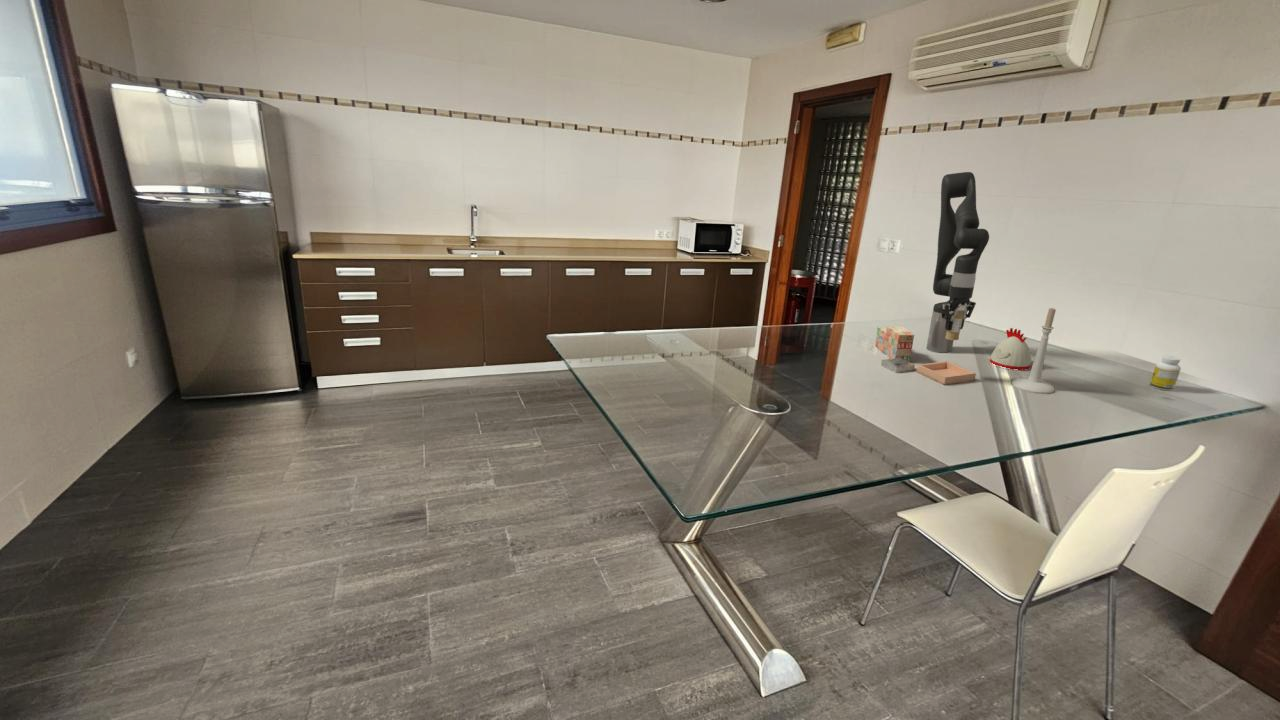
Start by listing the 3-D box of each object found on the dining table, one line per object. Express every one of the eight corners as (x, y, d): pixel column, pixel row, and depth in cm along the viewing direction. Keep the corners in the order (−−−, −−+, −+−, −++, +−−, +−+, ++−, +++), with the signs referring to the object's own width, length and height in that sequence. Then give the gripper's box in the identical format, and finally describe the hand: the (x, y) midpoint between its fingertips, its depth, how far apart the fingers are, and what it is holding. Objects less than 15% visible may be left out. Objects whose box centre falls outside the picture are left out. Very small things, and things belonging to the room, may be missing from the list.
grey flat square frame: (898, 363, 221) (899, 357, 220) (913, 370, 213) (914, 364, 213) (880, 365, 219) (881, 359, 218) (895, 372, 211) (896, 366, 210)
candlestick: (1063, 392, 191) (1085, 311, 181) (1031, 395, 189) (1052, 313, 179) (1033, 379, 203) (1052, 302, 193) (1003, 381, 201) (1021, 304, 191)
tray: (945, 368, 215) (946, 361, 214) (974, 380, 203) (976, 373, 202) (916, 372, 212) (917, 364, 211) (944, 384, 199) (945, 377, 198)
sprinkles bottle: (950, 336, 205) (956, 302, 200) (961, 339, 201) (968, 304, 196) (942, 338, 203) (948, 303, 199) (953, 341, 199) (960, 306, 195)
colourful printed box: (874, 346, 243) (878, 320, 238) (888, 346, 242) (892, 320, 238) (894, 362, 222) (899, 334, 218) (909, 362, 222) (914, 334, 218)
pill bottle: (1159, 383, 198) (1169, 354, 194) (1178, 390, 192) (1189, 360, 188) (1144, 385, 197) (1154, 355, 193) (1163, 391, 191) (1173, 361, 187)
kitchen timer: (1006, 357, 227) (1014, 323, 222) (1038, 368, 214) (1047, 332, 209) (981, 361, 223) (989, 326, 218) (1012, 372, 210) (1021, 336, 205)
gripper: (969, 281, 200) (961, 325, 206) (938, 283, 197) (930, 328, 203) (986, 285, 193) (977, 330, 199) (954, 288, 190) (945, 334, 196)
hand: (953, 329), depth 201 cm, fingers closed on sprinkles bottle, 4 cm apart
